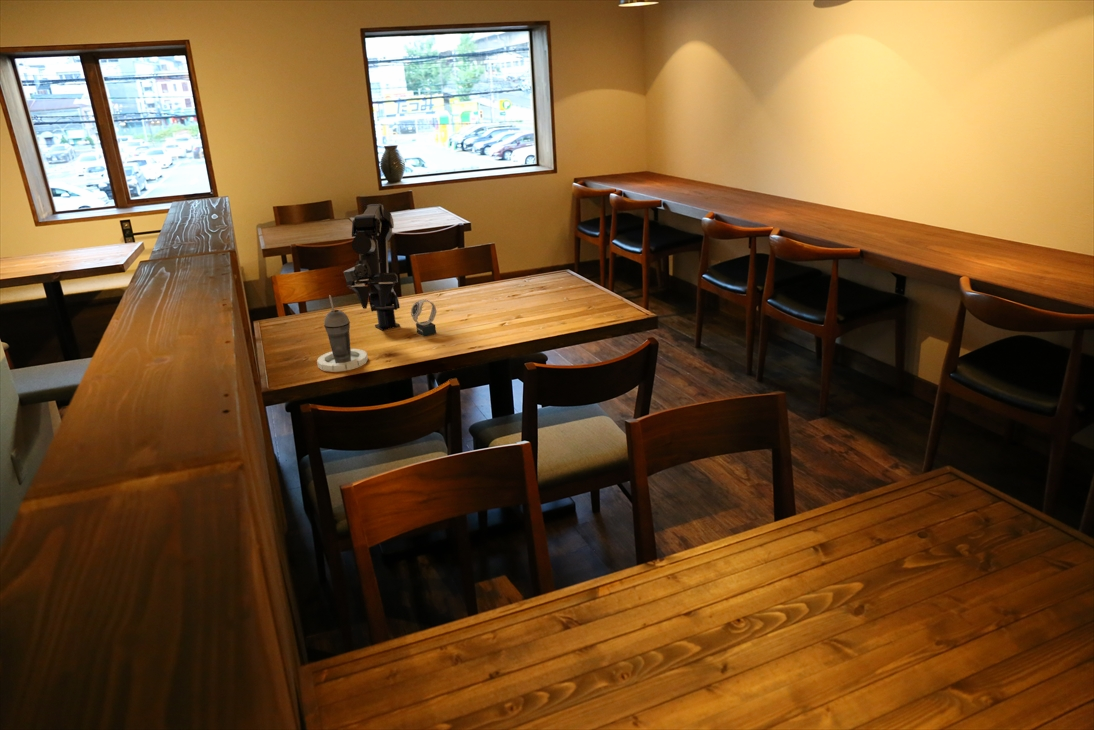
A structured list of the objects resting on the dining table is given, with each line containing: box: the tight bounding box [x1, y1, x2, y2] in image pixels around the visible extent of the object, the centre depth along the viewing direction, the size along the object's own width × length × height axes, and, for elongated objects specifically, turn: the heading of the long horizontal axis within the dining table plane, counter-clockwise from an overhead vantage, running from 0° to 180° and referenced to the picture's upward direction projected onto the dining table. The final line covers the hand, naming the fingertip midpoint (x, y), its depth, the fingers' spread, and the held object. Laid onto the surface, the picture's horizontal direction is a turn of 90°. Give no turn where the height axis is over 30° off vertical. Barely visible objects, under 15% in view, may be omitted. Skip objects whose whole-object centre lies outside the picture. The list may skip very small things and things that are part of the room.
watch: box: [410, 299, 437, 338], centre depth 237 cm, size 6×8×11 cm
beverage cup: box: [323, 294, 352, 363], centre depth 214 cm, size 7×7×20 cm
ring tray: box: [316, 348, 369, 373], centre depth 217 cm, size 14×14×2 cm
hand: (373, 308), depth 226 cm, fingers open, 9 cm apart
